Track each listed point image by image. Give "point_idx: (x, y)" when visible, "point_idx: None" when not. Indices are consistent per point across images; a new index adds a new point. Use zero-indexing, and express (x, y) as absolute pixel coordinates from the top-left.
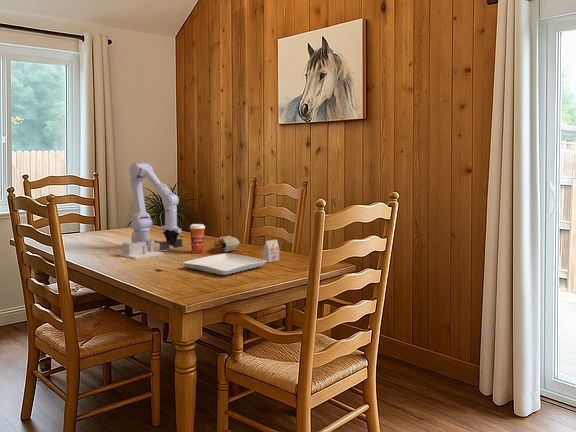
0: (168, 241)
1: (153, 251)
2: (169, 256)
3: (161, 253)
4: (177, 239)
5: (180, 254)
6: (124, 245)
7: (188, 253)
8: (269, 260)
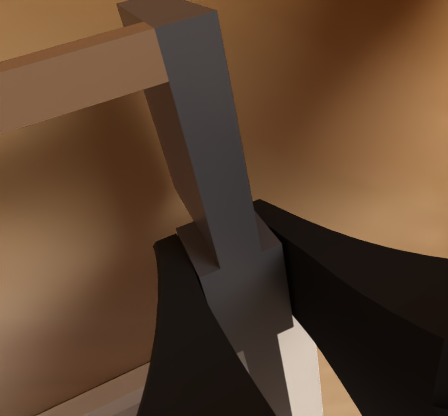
0: (275, 338)
1: None
2: None
3: None
4: (209, 165)
5: (392, 138)
6: None
7: (413, 22)
8: None
